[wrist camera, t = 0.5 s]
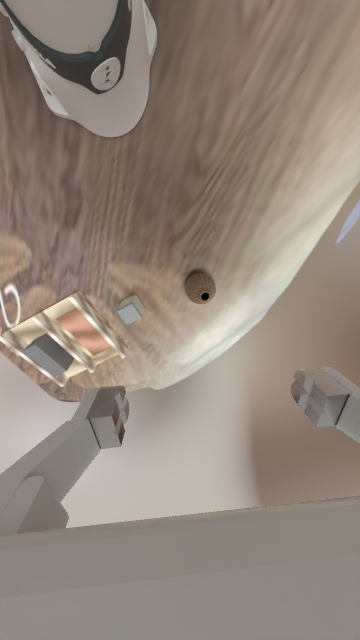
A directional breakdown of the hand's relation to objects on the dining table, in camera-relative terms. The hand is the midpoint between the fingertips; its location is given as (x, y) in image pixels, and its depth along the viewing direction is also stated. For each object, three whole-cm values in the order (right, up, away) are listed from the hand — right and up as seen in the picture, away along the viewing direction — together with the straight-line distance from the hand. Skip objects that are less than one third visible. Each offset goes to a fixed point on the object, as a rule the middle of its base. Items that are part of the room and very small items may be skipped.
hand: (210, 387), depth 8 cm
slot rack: (-31, -2, +40) cm, 51 cm away
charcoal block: (-36, -5, +40) cm, 54 cm away
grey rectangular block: (-14, +7, +37) cm, 40 cm away
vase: (+3, +12, +36) cm, 38 cm away
